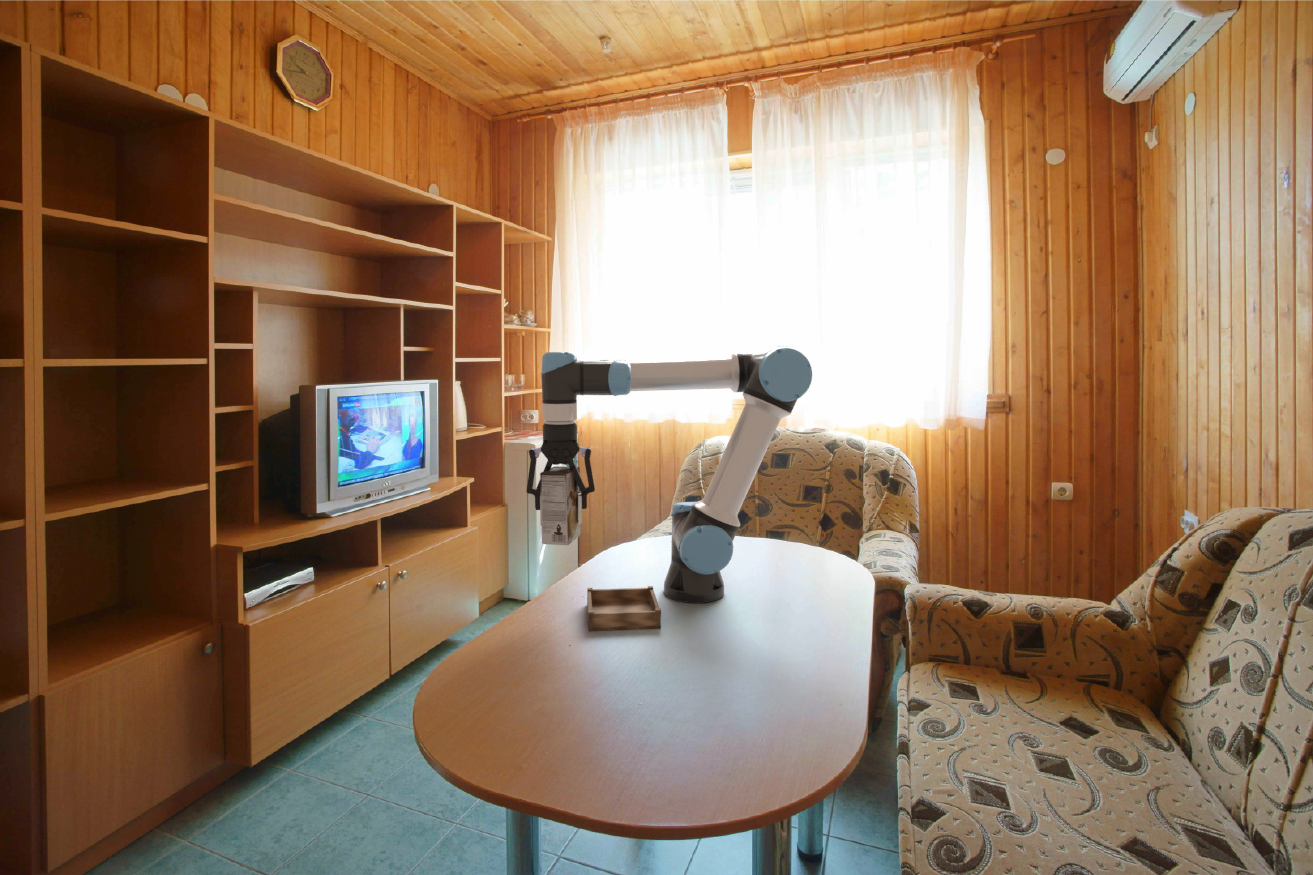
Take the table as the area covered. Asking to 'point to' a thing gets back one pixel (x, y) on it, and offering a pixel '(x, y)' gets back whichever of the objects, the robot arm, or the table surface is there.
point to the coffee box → (559, 506)
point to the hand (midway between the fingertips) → (561, 523)
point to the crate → (623, 609)
